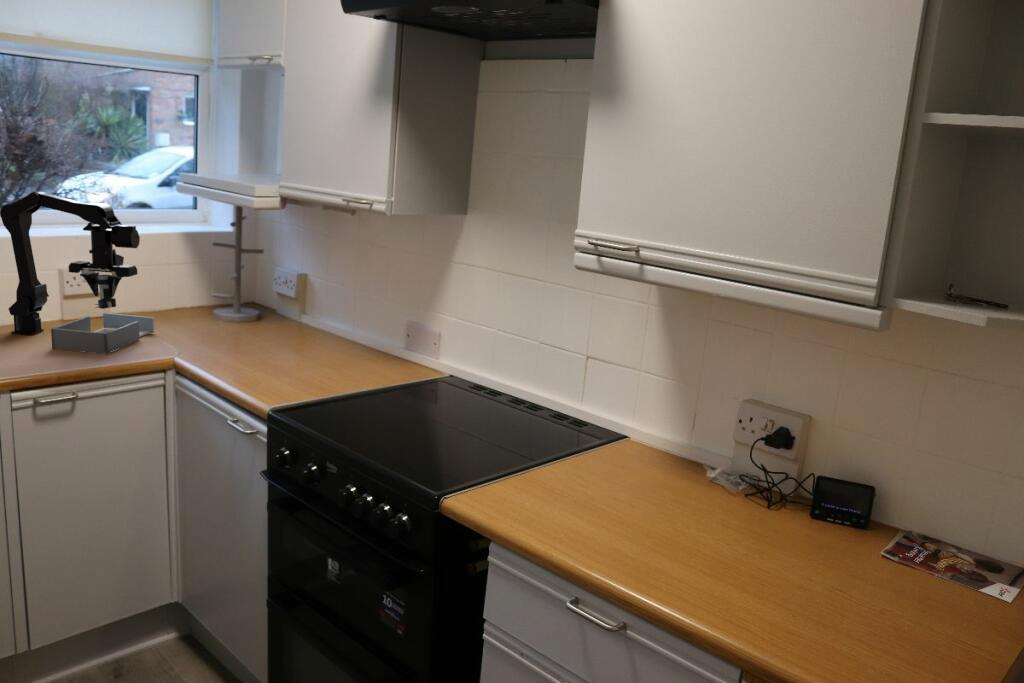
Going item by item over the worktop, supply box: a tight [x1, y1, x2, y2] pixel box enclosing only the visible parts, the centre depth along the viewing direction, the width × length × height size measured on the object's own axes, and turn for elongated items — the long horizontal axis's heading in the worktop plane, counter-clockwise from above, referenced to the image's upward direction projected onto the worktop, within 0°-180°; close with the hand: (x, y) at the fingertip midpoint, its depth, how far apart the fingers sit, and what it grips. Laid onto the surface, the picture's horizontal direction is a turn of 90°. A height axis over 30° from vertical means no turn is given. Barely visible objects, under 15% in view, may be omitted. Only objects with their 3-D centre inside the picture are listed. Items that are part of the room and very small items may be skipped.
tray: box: [93, 312, 155, 338], centre depth 253 cm, size 18×16×5 cm
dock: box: [50, 315, 141, 354], centre depth 244 cm, size 18×17×6 cm
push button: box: [94, 274, 117, 310], centre depth 248 cm, size 7×5×10 cm
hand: (104, 296), depth 248 cm, fingers closed on push button, 4 cm apart
